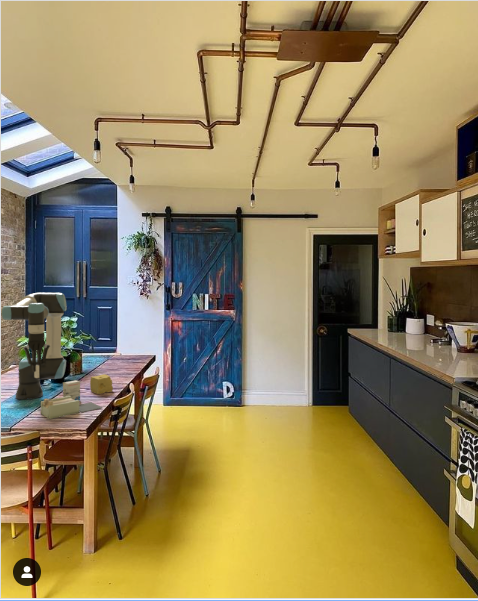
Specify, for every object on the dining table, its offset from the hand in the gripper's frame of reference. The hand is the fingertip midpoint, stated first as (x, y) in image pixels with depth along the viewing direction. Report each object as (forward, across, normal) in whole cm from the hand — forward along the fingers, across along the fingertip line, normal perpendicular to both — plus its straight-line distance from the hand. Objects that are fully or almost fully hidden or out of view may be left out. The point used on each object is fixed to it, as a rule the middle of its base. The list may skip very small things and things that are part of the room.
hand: (36, 377), depth 218 cm
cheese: (+22, +49, +26) cm, 60 cm away
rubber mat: (+22, +27, 0) cm, 35 cm away
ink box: (+22, +26, +18) cm, 39 cm away
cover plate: (+17, +12, 0) cm, 21 cm away
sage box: (+22, +12, 0) cm, 25 cm away
